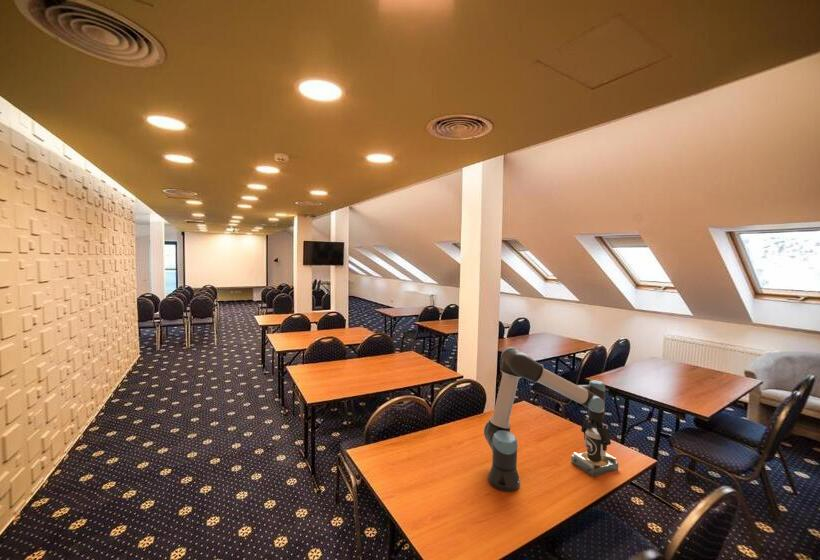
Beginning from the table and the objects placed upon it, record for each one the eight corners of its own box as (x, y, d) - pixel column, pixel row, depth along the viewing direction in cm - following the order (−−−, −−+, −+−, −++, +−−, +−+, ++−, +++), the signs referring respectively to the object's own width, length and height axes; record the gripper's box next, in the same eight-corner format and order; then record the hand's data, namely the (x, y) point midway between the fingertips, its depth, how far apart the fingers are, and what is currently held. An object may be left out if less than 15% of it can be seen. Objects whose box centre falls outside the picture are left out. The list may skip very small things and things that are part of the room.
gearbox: (592, 477, 176) (592, 466, 176) (570, 462, 189) (570, 452, 189) (618, 470, 182) (618, 459, 182) (595, 456, 195) (595, 446, 195)
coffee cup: (602, 465, 179) (604, 437, 178) (582, 459, 185) (583, 431, 184) (605, 457, 187) (606, 430, 186) (586, 451, 192) (587, 425, 192)
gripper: (620, 417, 176) (618, 460, 177) (584, 401, 196) (583, 440, 197) (609, 419, 173) (607, 463, 174) (574, 403, 193) (573, 442, 194)
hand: (594, 450), depth 185 cm, fingers open, 9 cm apart
